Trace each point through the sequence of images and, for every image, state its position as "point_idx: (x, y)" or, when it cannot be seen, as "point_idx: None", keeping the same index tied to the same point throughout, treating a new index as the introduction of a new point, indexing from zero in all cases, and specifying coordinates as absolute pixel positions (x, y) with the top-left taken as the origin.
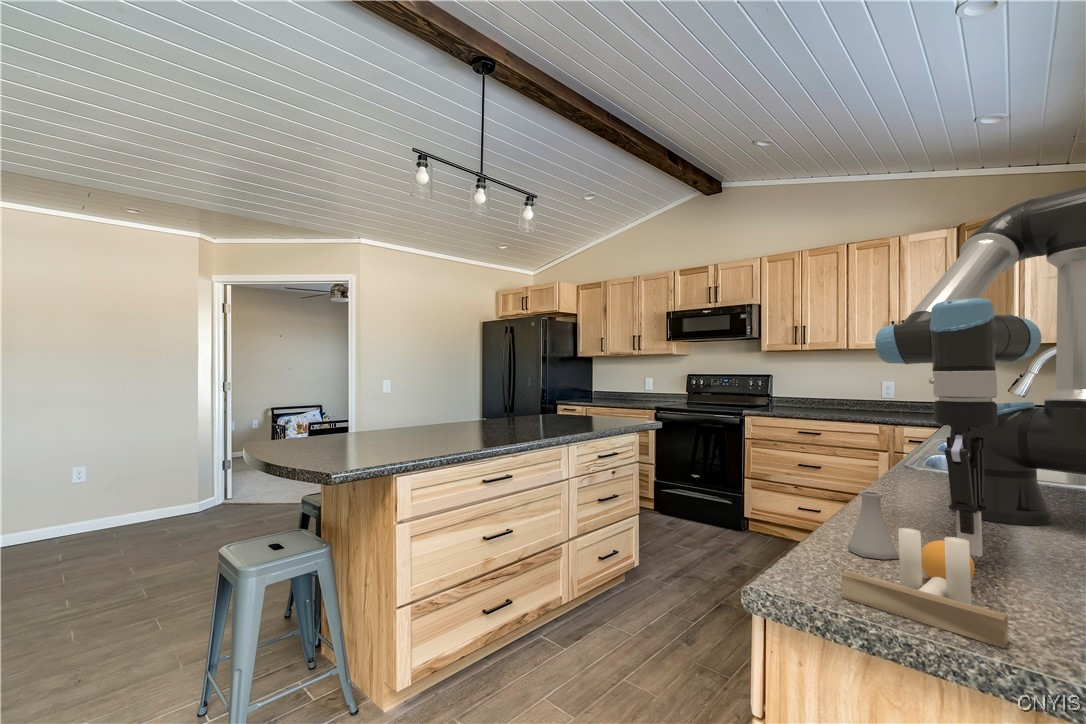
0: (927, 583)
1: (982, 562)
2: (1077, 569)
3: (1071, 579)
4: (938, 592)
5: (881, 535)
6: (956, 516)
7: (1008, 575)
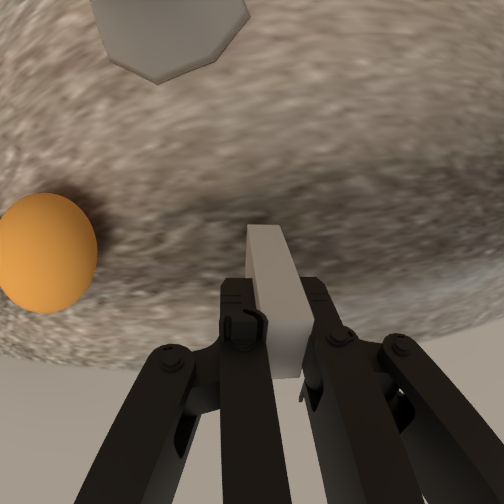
0: None
1: (314, 247)
2: None
3: None
4: None
5: (111, 35)
6: (260, 298)
7: None
